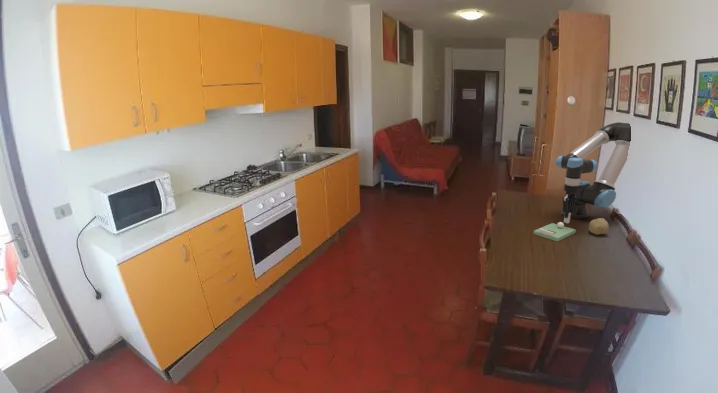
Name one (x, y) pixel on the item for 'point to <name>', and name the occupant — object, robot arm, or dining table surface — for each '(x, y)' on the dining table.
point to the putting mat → (554, 232)
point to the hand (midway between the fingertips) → (566, 222)
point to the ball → (560, 224)
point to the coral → (599, 226)
